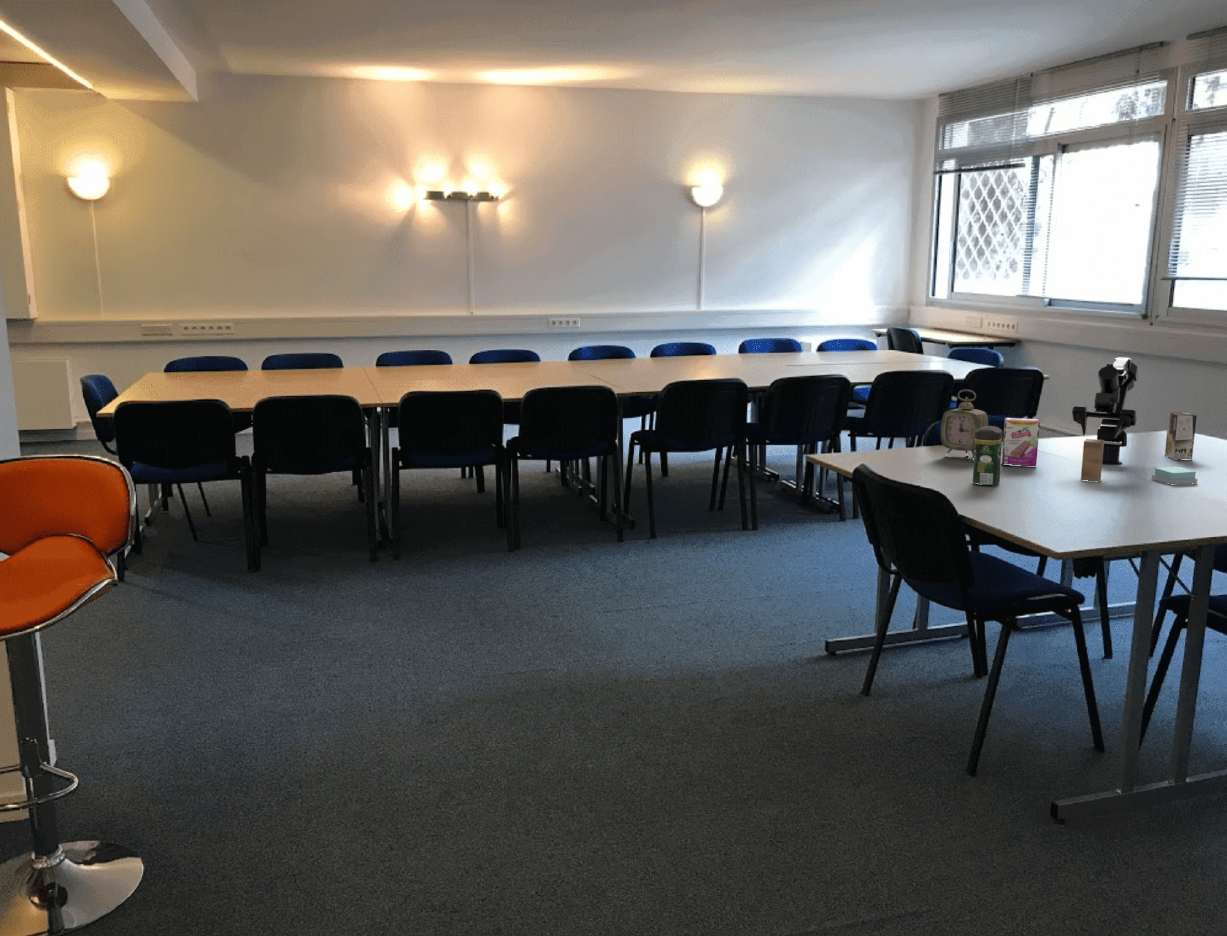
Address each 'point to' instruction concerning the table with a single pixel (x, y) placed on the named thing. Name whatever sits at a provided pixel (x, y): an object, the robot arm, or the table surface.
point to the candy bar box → (1020, 441)
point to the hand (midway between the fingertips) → (1098, 436)
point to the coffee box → (1180, 435)
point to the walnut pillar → (1092, 460)
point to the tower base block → (1180, 481)
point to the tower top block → (1175, 473)
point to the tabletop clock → (962, 426)
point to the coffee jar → (987, 455)
